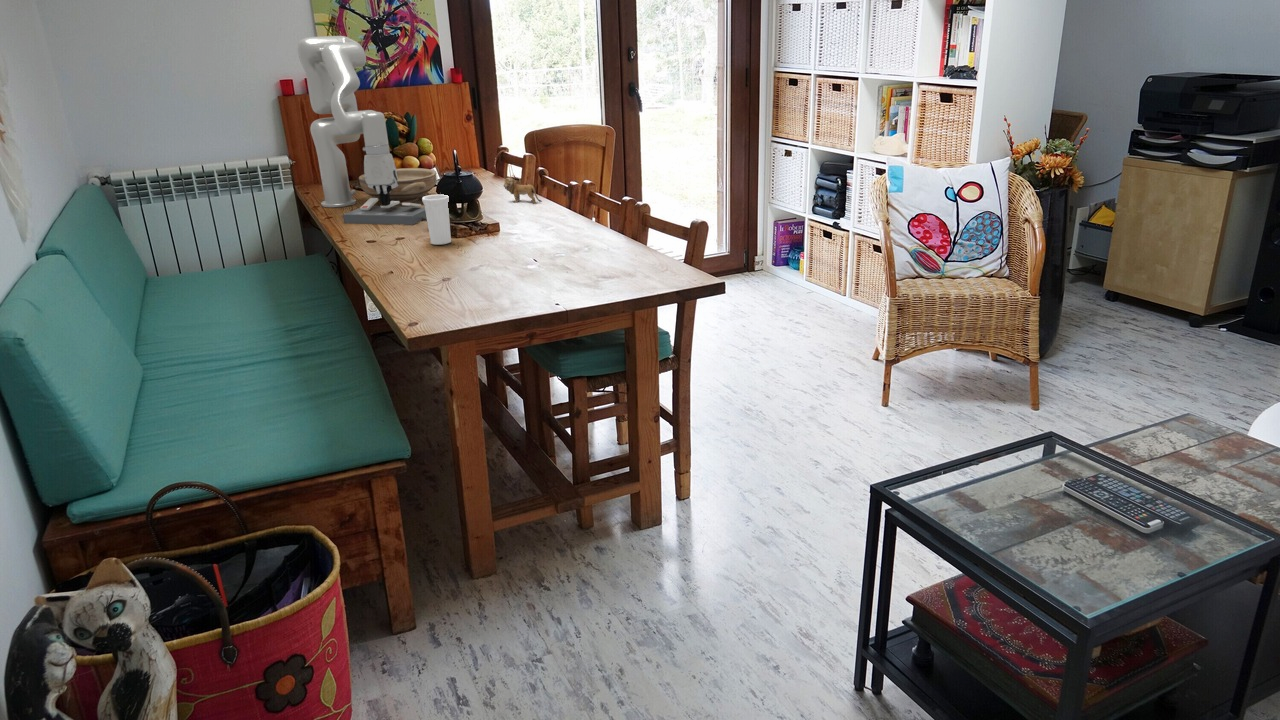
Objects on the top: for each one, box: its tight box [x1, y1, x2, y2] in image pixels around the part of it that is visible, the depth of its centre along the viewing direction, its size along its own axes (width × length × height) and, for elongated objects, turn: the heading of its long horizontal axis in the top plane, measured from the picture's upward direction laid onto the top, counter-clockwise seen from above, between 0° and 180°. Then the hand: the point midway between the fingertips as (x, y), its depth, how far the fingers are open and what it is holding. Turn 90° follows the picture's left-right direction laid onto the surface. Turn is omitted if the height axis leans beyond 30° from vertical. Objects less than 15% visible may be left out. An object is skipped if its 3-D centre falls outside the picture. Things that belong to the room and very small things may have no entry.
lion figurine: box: [503, 177, 543, 205], centre depth 319 cm, size 15×5×9 cm, turn 72°
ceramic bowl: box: [358, 167, 437, 205], centre depth 329 cm, size 37×29×10 cm
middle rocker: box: [380, 201, 400, 208], centre depth 300 cm, size 8×3×1 cm, turn 166°
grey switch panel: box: [342, 205, 427, 226], centre depth 299 cm, size 14×32×3 cm, turn 76°
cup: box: [421, 193, 452, 246], centre depth 263 cm, size 8×8×14 cm
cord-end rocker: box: [401, 202, 422, 207], centre depth 299 cm, size 8×3×1 cm, turn 166°
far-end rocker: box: [359, 197, 379, 210], centre depth 302 cm, size 8×3×1 cm, turn 166°
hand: (385, 204), depth 297 cm, fingers closed
